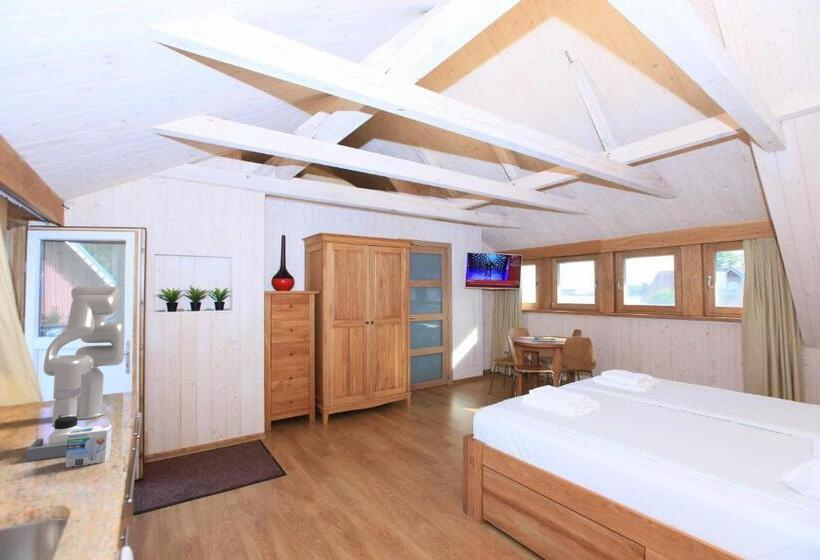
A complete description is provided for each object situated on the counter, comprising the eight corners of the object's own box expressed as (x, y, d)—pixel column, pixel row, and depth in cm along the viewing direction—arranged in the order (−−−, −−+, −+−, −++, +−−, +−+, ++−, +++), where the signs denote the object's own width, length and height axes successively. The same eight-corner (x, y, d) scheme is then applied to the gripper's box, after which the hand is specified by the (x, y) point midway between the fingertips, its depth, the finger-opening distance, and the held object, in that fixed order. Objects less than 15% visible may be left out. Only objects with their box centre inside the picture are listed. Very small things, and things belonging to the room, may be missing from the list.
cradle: (37, 450, 136) (37, 439, 136) (87, 444, 142) (88, 433, 142) (25, 461, 127) (26, 449, 127) (80, 454, 134) (80, 442, 134)
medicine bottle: (74, 453, 134) (76, 418, 135) (47, 456, 131) (49, 421, 132) (80, 445, 141) (82, 413, 141) (55, 448, 137) (57, 415, 138)
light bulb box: (64, 468, 123) (66, 434, 123) (71, 460, 129) (73, 428, 129) (106, 462, 128) (107, 430, 128) (110, 454, 134) (112, 423, 134)
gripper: (60, 388, 146) (58, 436, 146) (46, 399, 133) (43, 452, 133) (85, 386, 150) (83, 433, 150) (74, 397, 137) (71, 448, 136)
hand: (64, 442), depth 141 cm, fingers closed
